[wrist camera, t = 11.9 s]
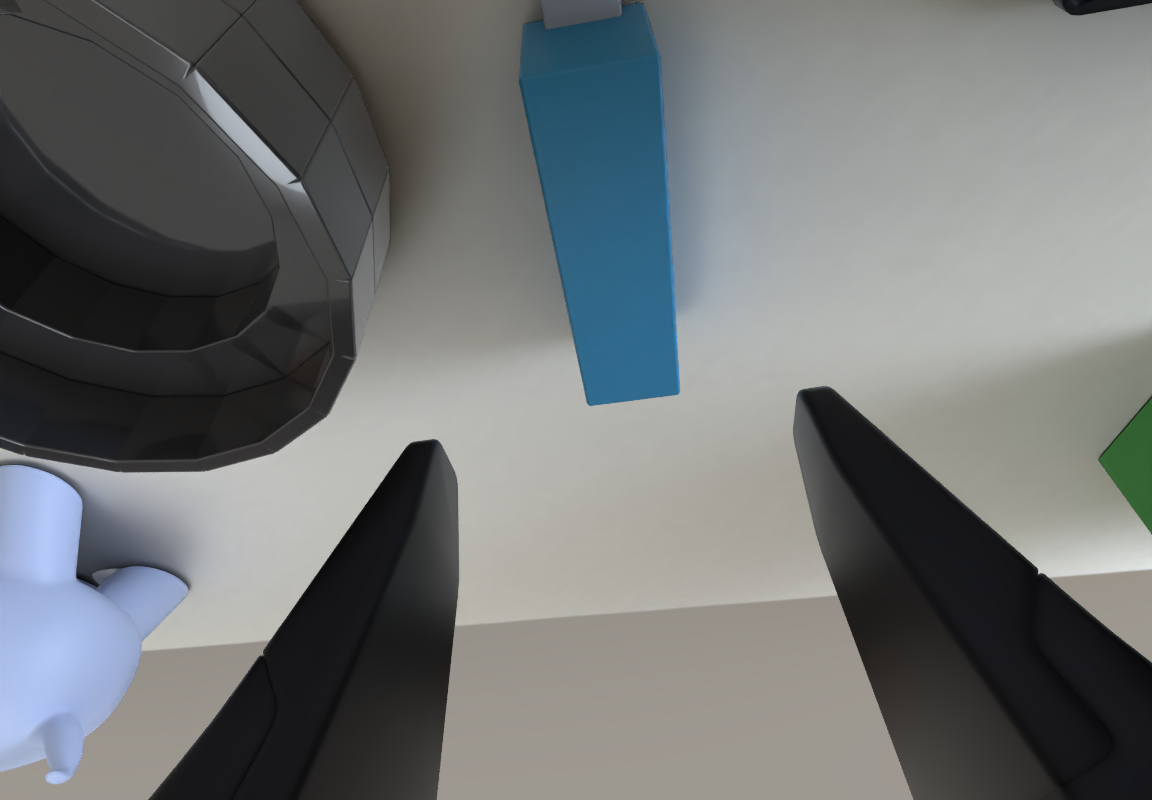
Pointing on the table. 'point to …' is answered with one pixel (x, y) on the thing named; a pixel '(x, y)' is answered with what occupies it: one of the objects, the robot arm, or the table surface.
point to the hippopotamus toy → (63, 625)
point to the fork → (605, 189)
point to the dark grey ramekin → (179, 230)
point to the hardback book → (1134, 464)
